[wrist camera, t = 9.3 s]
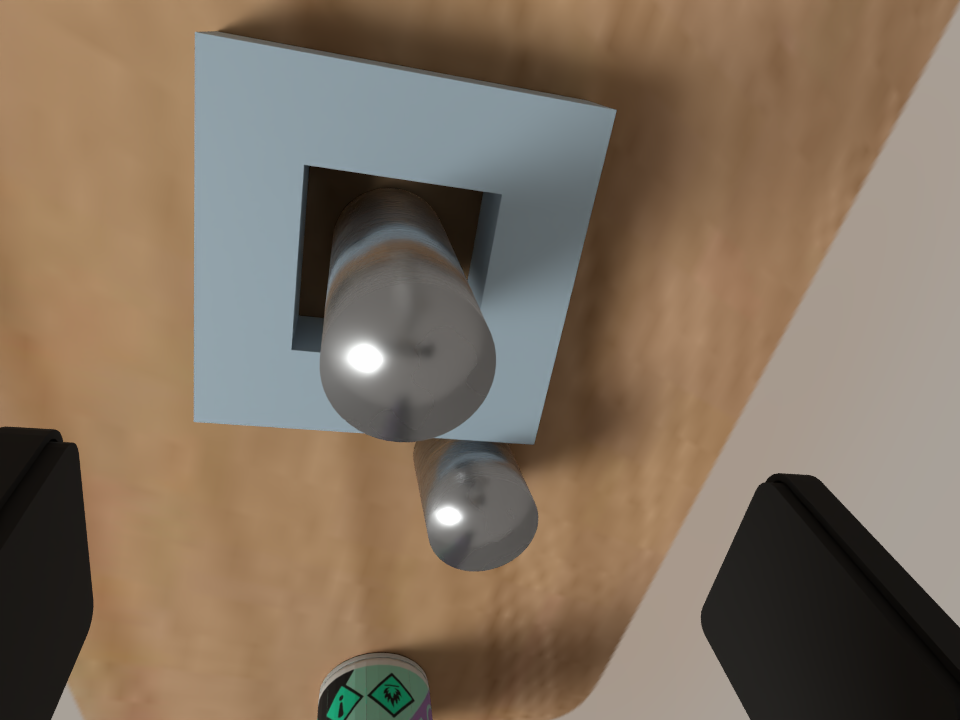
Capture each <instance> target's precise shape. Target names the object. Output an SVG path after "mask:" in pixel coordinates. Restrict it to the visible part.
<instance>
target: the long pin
mask: <svg viewBox="0 0 960 720" xmlns="http://www.w3.org/2000/svg"><path fill="white" fill-rule="evenodd" d="M495 370H496V351H495V344H494V341H493V338H492V334H491V332H490V330H489V328H488V326H487V323H486V321H485V319H484V317H483V314H482V312H481V310H480V308H479V306H478V303H477V301H476V299H475V297H474V294H473V292H472V290H471V288H470V286H469V283H468V281H467V279H466V277H465V275H464V272H463V270H462V268H461V266H460V263H459V261H458V259H457V257H456V255H455V252H454V250H453V248H452V246H451V243H450V241H449V239H448V237H447V235H446V232H445V230H444V228H443V226H442V223H441V221H440V219H439V217H438V216H437V214H436V212H435V211H434V210H433V209H432V207H431V206H430V205H429V204H428V203H427V202H426V201H424V200H423V199H422V198H420V197H419V196H417V195H415V194H413V193H411V192H408V191H405V190H401V189H396V188H381V189H375V190H372V191H369V192H366V193H364V194H362V195H360V196H358V197H357V198H355V199H354V200H353V201H351V202H350V203H349V204H348V205H347V206H346V207H345V209H344V210H343V211H342V213H341V214H340V216H339V218H338V220H337V222H336V225H335V228H334V233H333V240H332V249H331V259H330V268H329V277H328V287H327V296H326V305H325V315H324V324H323V333H322V342H321V352H320V377H321V382H322V386H323V389H324V392H325V394H326V396H327V398H328V400H329V402H330V403H331V405H332V407H333V408H334V409H335V411H336V412H337V413H338V414H339V415H340V416H341V417H342V418H343V419H344V420H345V421H346V422H347V423H348V424H350V425H351V426H353V427H354V428H356V429H357V430H359V431H361V432H363V433H365V434H367V435H370V436H372V437H375V438H378V439H383V440H387V441H394V442H415V441H423V440H427V439H432V438H435V437H438V436H441V435H443V434H445V433H447V432H449V431H451V430H453V429H455V428H456V427H458V426H460V425H461V424H462V423H464V422H465V421H466V420H467V419H469V418H470V417H471V416H472V415H473V414H474V413H475V412H476V411H477V409H478V408H479V407H480V406H481V404H482V403H483V402H484V400H485V398H486V396H487V395H488V393H489V391H490V388H491V386H492V383H493V379H494V376H495Z"/></svg>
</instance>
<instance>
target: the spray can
mask: <svg viewBox="0 0 960 720" xmlns="http://www.w3.org/2000/svg"><path fill="white" fill-rule="evenodd" d="M317 720H432V710H431V701H430V691H429V686H428V680H427V677H426V674H425V672H424V671H423V670H422V668H421V667H420V666H419V665H418V664H416V663H415V662H414V661H412V660H410V659H408V658H406V657H403V656H400V655H396V654H390V653H372V654H365V655H361V656H357V657H354V658H352V659H349V660H347V661H345V662H343V663H342V664H340V665H338V666H337V667H336V668H334V669H333V670H332V671H331V672H330V673H329V674H328V675H327V677H326V678H325V679H324V681H323V683H322V685H321V688H320V694H319V702H318V718H317Z"/></svg>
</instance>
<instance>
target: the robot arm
mask: <svg viewBox="0 0 960 720" xmlns="http://www.w3.org/2000/svg"><path fill="white" fill-rule="evenodd" d="M92 615H93V593H92V582H91V572H90V562H89V552H88V542H87V531H86V521H85V511H84V501H83V491H82V481H81V470H80V460H79V452H78V448H77V446H76V444H75V443H69V442H63V439H62V436H61V434H60V432H59V431H57V430H54V429H38V428H21V427H1V428H0V720H51V718H52V716H53V714H54V711H55V709H56V707H57V704H58V702H59V699H60V697H61V695H62V693H63V690H64V688H65V686H66V683H67V681H68V679H69V676H70V674H71V671H72V669H73V667H74V664H75V662H76V660H77V657H78V655H79V653H80V650H81V648H82V646H83V643H84V641H85V639H86V636H87V634H88V631H89V628H90V624H91V620H92ZM701 624H702V629H703V631H704V634H705V636H706V638H707V640H708V642H709V644H710V645H711V647H712V649H713V651H714V653H715V655H716V657H717V658H718V660H719V662H720V664H721V666H722V667H723V669H724V671H725V673H726V675H727V677H728V679H729V681H730V682H731V684H732V686H733V688H734V690H735V692H736V694H737V695H738V697H739V699H740V701H741V703H742V705H743V707H744V709H745V710H746V712H747V714H748V716H749V718H750V720H960V628H959V626H958V625H957V624H956V623H955V622H954V621H953V620H952V619H951V618H950V617H949V616H948V615H947V614H946V613H945V612H944V611H943V610H942V608H941V607H940V606H938V604H937V603H936V602H935V601H934V600H933V599H932V598H931V597H930V596H929V595H928V594H927V593H926V592H925V591H924V590H923V588H922V587H921V586H920V585H919V584H918V583H917V582H916V581H915V580H914V579H913V578H912V577H911V576H910V575H909V574H908V573H907V572H906V571H905V570H904V568H903V567H902V566H901V565H900V564H899V563H898V562H897V561H896V560H895V559H894V558H893V557H892V556H891V555H890V554H889V553H888V552H887V551H886V550H885V548H884V547H883V546H882V545H881V544H880V543H879V542H878V541H877V540H876V539H875V538H874V537H873V536H872V535H871V534H870V533H869V532H868V531H867V529H866V528H865V527H864V526H863V525H862V524H861V523H860V522H859V521H858V520H857V519H856V518H855V517H854V516H853V515H852V514H851V513H850V511H848V509H847V508H846V507H845V506H844V505H843V504H842V503H841V502H840V501H839V500H838V499H837V498H836V497H835V496H834V495H833V494H832V492H830V491H829V490H828V488H827V487H826V486H825V485H824V484H823V483H822V482H821V481H820V480H819V479H817V478H816V477H814V476H810V475H799V474H782V473H778V474H773V475H772V476H770V477H769V478H768V479H767V481H766V482H765V483H762V484H761V485H759V487H758V488H757V490H756V491H755V494H754V496H753V498H752V500H751V502H750V504H749V507H748V509H747V511H746V513H745V516H744V518H743V520H742V522H741V524H740V527H739V529H738V531H737V533H736V535H735V537H734V540H733V542H732V544H731V546H730V548H729V551H728V553H727V555H726V557H725V559H724V562H723V564H722V566H721V568H720V570H719V573H718V575H717V577H716V579H715V581H714V584H713V586H712V588H711V590H710V592H709V595H708V597H707V599H706V601H705V603H704V606H703V608H702V611H701Z"/></svg>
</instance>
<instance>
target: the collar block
mask: <svg viewBox="0 0 960 720" xmlns="http://www.w3.org/2000/svg"><path fill="white" fill-rule="evenodd" d="M616 111H617V110H615V109H612V108H609V107H606V106H603V105H600V104H597V103H594V102H591V101H587V100H582V99H577V98H572V97H566V96H561V95H555V94H550V93H545V92H539V91H534V90H529V89H523V88H518V87H513V86H507V85H502V84H496V83H491V82H486V81H480V80H475V79H470V78H464V77H459V76H454V75H448V74H443V73H437V72H432V71H427V70H421V69H416V68H411V67H405V66H400V65H394V64H389V63H384V62H378V61H373V60H368V59H362V58H357V57H352V56H346V55H341V54H335V53H330V52H325V51H319V50H314V49H309V48H303V47H298V46H293V45H287V44H282V43H276V42H271V41H266V40H260V39H255V38H250V37H244V36H239V35H233V34H228V33H223V32H217V31H211V32H195V213H194V422H204V423H218V424H233V425H248V426H263V427H278V428H293V429H308V430H323V431H338V432H353V433H363V432H361V431H359V430H357V429H356V428H354V427H353V426H351V425H350V424H348V423H347V422H346V421H345V420H344V419H343V418H342V417H341V416H340V415H339V414H338V413H337V412H336V411H335V409H334V408H333V407H332V405H331V403H330V402H329V400H328V398H327V396H326V394H325V392H324V389H323V386H322V382H321V377H320V352H321V342H322V333H323V324H324V318H319V317H310V316H300V315H299V304H300V290H301V276H302V262H303V248H304V234H305V220H306V206H307V192H308V178H309V166H316V167H323V168H329V169H336V170H343V171H349V172H356V173H363V174H369V175H376V176H383V177H390V178H396V179H403V180H410V181H416V182H423V183H430V184H436V185H443V186H450V187H456V188H463V189H470V190H476V191H483V197H482V203H481V208H480V214H479V219H478V225H477V231H476V236H475V242H474V247H473V253H472V259H471V264H470V270H469V275H468V283H469V286H470V288H471V290H472V292H473V294H474V297H475V299H476V301H477V303H478V306H479V308H480V310H481V312H482V314H483V317H484V319H485V321H486V323H487V326H488V328H489V330H490V332H491V334H492V338H493V341H494V344H495V351H496V370H495V376H494V379H493V383H492V386H491V388H490V391H489V393H488V395H487V396H486V398H485V400H484V402H483V403H482V404H481V406H480V407H479V408H478V409H477V411H476V412H475V413H474V414H473V415H472V416H471V417H470V418H469V419H467V420H466V421H465V422H464V423H462V424H461V425H460V426H458V427H456V428H455V429H453V430H451V431H449V432H447V433H445V434H443V435H441V436H438V437H435V438H443V439H458V440H473V441H488V442H503V443H518V444H533V445H534V443H535V439H536V435H537V431H538V427H539V422H540V418H541V414H542V410H543V406H544V402H545V398H546V394H547V390H548V386H549V382H550V378H551V374H552V370H553V366H554V362H555V358H556V354H557V350H558V346H559V342H560V338H561V333H562V329H563V325H564V321H565V317H566V313H567V309H568V305H569V301H570V297H571V293H572V289H573V285H574V281H575V277H576V273H577V269H578V265H579V261H580V257H581V253H582V249H583V244H584V240H585V236H586V232H587V228H588V224H589V220H590V216H591V212H592V208H593V204H594V200H595V196H596V192H597V188H598V184H599V180H600V176H601V172H602V168H603V164H604V160H605V155H606V151H607V147H608V143H609V139H610V135H611V131H612V127H613V123H614V119H615V115H616Z"/></svg>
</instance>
